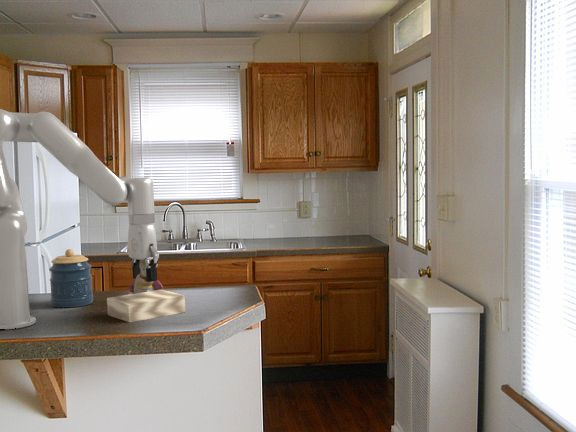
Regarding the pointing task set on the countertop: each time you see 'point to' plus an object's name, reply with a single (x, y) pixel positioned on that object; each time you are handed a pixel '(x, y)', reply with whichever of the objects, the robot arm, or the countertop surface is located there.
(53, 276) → the canister
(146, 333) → the countertop surface
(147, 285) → the chocolate bunny
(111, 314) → the birch riser
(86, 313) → the countertop surface
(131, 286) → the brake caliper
